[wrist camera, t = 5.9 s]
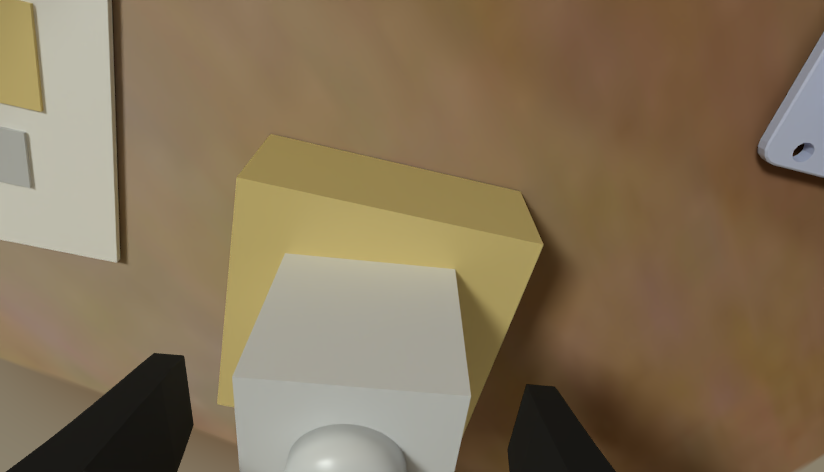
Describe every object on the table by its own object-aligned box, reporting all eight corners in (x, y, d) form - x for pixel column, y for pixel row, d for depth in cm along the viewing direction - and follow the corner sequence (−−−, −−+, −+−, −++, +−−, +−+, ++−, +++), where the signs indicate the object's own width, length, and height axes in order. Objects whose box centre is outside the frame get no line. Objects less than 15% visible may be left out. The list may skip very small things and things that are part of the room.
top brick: (455, 269, 12) (476, 435, 8) (433, 391, 14) (441, 577, 10) (284, 253, 12) (216, 414, 8) (286, 379, 14) (231, 564, 10)
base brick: (520, 191, 15) (543, 244, 12) (452, 372, 18) (458, 445, 15) (270, 133, 14) (236, 177, 11) (247, 334, 17) (217, 404, 14)
